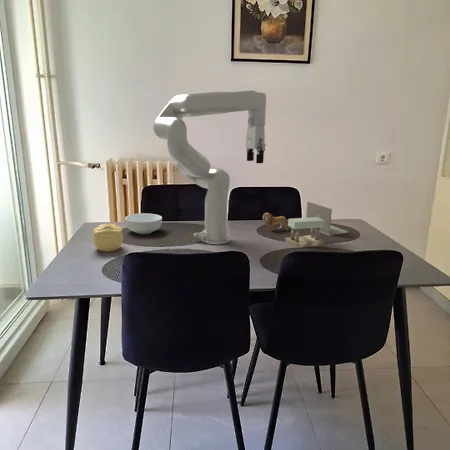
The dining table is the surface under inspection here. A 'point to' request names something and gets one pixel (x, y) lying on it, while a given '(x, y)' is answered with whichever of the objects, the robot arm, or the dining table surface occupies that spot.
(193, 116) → the robot arm
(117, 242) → the sculpture
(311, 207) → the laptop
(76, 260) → the dining table surface
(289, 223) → the pale green block
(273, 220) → the lion figurine
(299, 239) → the peg stand
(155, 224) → the cereal bowl
